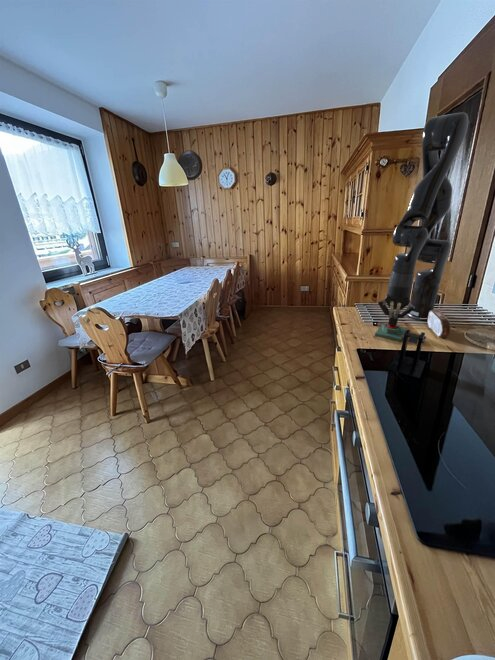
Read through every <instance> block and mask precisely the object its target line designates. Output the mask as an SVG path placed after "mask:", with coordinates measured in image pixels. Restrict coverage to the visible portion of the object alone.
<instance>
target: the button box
mask: <svg viewBox="0 0 495 660" xmlns="http://www.w3.org/2000/svg"><path fill="white" fill-rule="evenodd" d="M388 323H389V322H382V324H381V325H380V326H379V327H378V328H377V330H376V332H375V334H374V336H375V337H379V338H383V339H387V340H390V341H396V342H399V343H400V342H401V341H402V340H403V339H402V337H403V334H405V332H406V331H407V329H408V327H405V326H401V325H400V324H398V323H397V324H396V325H397V328H396V329H392V328H388V327H387V325H388Z"/></svg>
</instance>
